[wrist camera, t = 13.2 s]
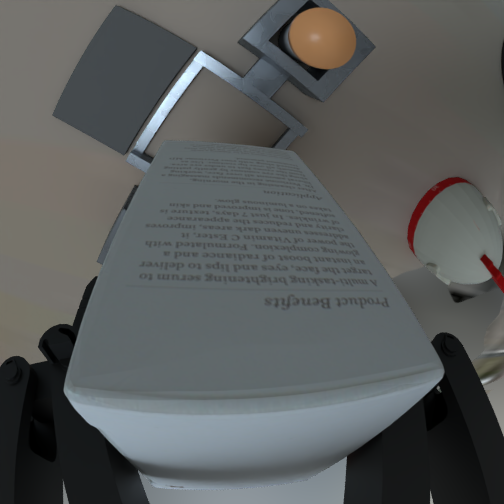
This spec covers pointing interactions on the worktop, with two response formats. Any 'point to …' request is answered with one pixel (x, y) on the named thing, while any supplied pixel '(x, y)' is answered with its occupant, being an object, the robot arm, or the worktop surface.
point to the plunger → (318, 38)
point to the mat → (121, 78)
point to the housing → (256, 83)
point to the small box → (242, 326)
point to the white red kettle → (457, 234)
